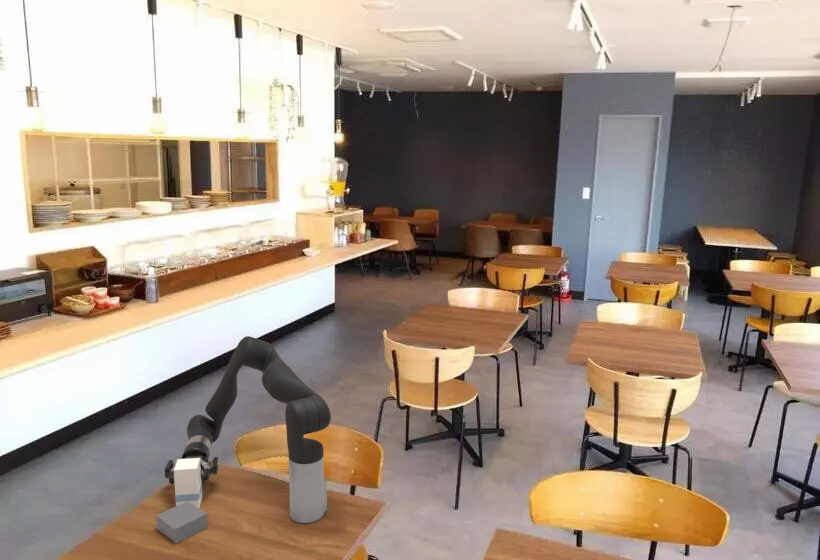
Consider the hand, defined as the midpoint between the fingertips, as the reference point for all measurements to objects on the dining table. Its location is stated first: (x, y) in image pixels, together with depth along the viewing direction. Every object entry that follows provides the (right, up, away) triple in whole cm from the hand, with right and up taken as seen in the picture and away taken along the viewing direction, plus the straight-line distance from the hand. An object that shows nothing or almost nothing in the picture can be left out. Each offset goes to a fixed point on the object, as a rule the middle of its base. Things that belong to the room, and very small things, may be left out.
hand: (188, 480), depth 175 cm
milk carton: (0, -7, +2) cm, 7 cm away
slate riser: (+2, -9, -10) cm, 14 cm away
